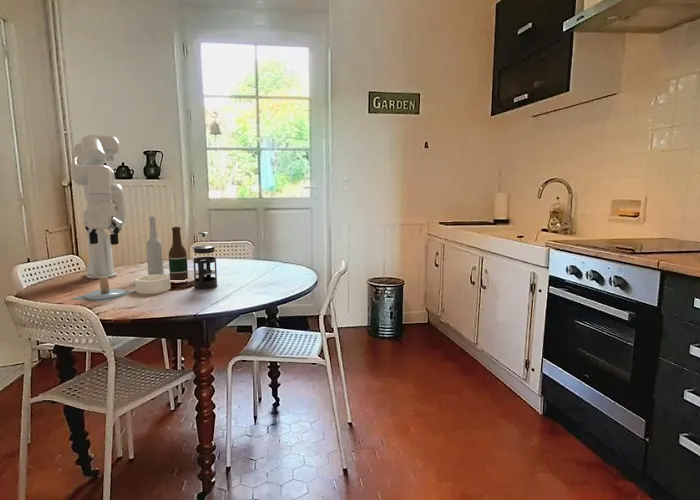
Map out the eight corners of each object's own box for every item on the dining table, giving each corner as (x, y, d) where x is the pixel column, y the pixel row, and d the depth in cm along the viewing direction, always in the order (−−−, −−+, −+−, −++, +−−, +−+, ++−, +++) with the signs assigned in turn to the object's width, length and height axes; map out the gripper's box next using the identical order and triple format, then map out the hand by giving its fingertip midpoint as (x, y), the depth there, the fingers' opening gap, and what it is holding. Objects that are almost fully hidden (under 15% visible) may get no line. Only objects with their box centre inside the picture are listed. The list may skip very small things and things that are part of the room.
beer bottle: (191, 279, 201) (188, 226, 198) (183, 283, 194) (180, 228, 190) (175, 279, 202) (171, 226, 198) (166, 283, 195) (162, 227, 191)
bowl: (129, 294, 176) (128, 280, 175) (150, 286, 188) (149, 273, 187) (156, 296, 173) (155, 282, 172) (176, 288, 185) (175, 275, 184)
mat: (70, 300, 167) (70, 298, 167) (104, 290, 182) (104, 288, 182) (106, 303, 163) (106, 302, 162) (137, 293, 178) (137, 291, 178)
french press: (198, 283, 194) (196, 230, 190) (220, 283, 194) (218, 230, 190) (189, 290, 182) (186, 234, 178) (213, 290, 182) (210, 233, 179)
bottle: (145, 278, 204) (140, 216, 199) (156, 275, 210) (152, 215, 206) (156, 279, 201) (152, 217, 197) (167, 276, 208) (163, 215, 203)
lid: (75, 298, 167) (74, 280, 166) (104, 289, 180) (103, 273, 179) (106, 301, 164) (104, 282, 163) (133, 292, 177) (131, 275, 176)
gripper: (73, 199, 167) (77, 244, 170) (111, 198, 162) (115, 246, 165) (90, 198, 174) (94, 242, 177) (127, 198, 169) (130, 243, 172)
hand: (104, 244), depth 171 cm, fingers open, 9 cm apart
